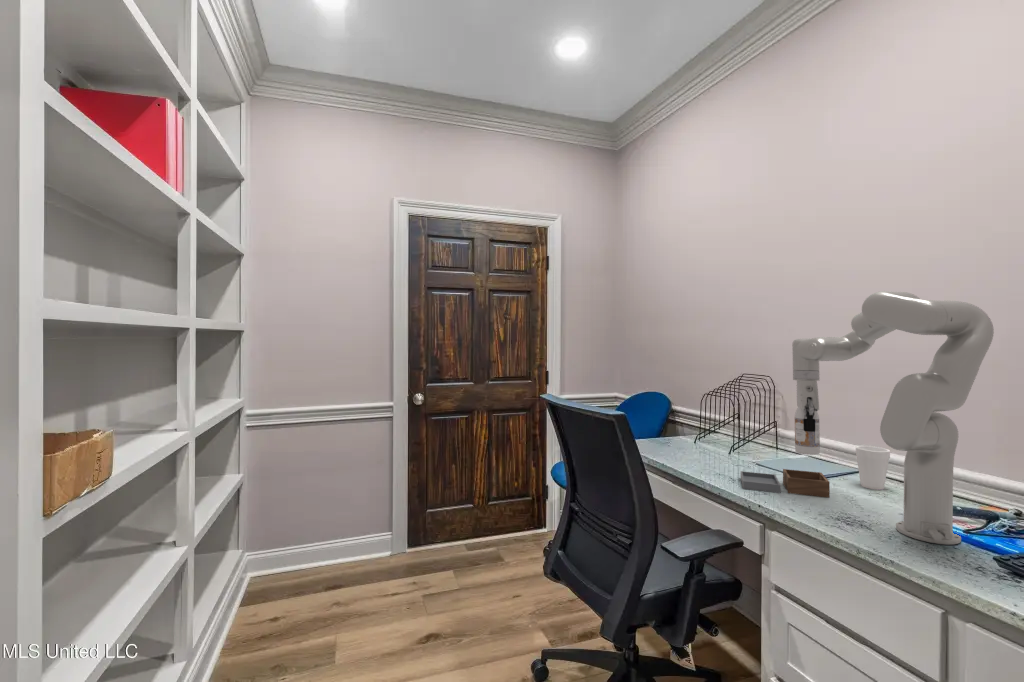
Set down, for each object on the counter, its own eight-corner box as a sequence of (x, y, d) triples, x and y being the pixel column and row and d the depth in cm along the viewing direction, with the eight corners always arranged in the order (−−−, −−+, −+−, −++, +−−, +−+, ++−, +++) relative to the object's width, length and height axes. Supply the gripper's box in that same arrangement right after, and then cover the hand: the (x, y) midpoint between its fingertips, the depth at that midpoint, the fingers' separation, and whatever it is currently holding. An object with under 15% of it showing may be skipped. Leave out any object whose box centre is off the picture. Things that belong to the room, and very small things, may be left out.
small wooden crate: (829, 497, 151) (829, 481, 151) (788, 493, 155) (788, 477, 155) (821, 487, 161) (821, 472, 161) (782, 483, 165) (783, 469, 165)
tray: (780, 493, 155) (780, 485, 155) (743, 488, 159) (743, 481, 159) (775, 481, 167) (775, 474, 167) (740, 478, 171) (740, 471, 171)
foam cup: (896, 492, 156) (896, 452, 156) (864, 490, 158) (864, 451, 158) (879, 483, 166) (880, 446, 165) (850, 481, 167) (850, 445, 167)
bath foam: (790, 451, 159) (789, 391, 160) (806, 450, 161) (805, 391, 162) (808, 455, 153) (807, 393, 153) (825, 454, 155) (823, 392, 155)
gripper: (825, 377, 148) (826, 434, 148) (813, 374, 164) (814, 426, 164) (797, 377, 151) (798, 433, 151) (788, 374, 167) (789, 425, 167)
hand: (807, 429), depth 157 cm, fingers closed on bath foam, 7 cm apart
